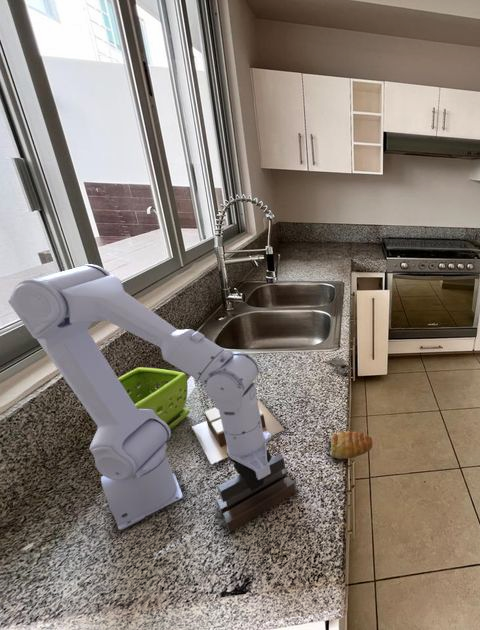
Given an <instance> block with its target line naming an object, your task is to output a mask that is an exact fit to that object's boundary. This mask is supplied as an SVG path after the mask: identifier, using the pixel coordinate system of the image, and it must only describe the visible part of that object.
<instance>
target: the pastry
mask: <svg viewBox="0 0 480 630" xmlns="http://www.w3.org/2000/svg"><path fill="white" fill-rule="evenodd" d="M330 442H331V443H330V451H329V455H330V456H331V457H332V458H335V459H337V460H342V459H346V460H347V459H352V458H356V457H358V456H362V455H365V454H367V453H369V451H370V450H372V448H373V438H372V436H370V435H368V434H366V433H364V432H358V431H356V430H355V431H351V430H347V431H344V430H340V431H339V432H337V433H332V434H331V438H330Z"/></svg>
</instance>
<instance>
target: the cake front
mask: <svg viewBox="0 0 480 630" xmlns="http://www.w3.org/2000/svg"><path fill="white" fill-rule="evenodd" d="M259 412H260V417H261V423H262V428H264V427H266V425H265V420H264V414H263V412H262V411H261V410H260V409H259ZM211 425H212V429H213V433H214V437H215V438H216V440H217V442H218V443H219V445H220V447H222V446H224V445H227V443H226V439H225V434H224V430H223V425H222V421H221V419H219V420H217V421H214V422H212V423H211Z"/></svg>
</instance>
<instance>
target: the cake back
mask: <svg viewBox="0 0 480 630" xmlns="http://www.w3.org/2000/svg"><path fill="white" fill-rule="evenodd" d="M203 413H204V416H205V421H207V424H208V426H209V428H210V430H211V432H212V433H213V429H212V425H211V423H212V422H214V421H217V420H219V419H221V417H220V413H219V410H218V409H216V406H215V407H213V408H209V409H208V410H205V411H203ZM213 435H214V433H213Z"/></svg>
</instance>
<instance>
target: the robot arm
mask: <svg viewBox="0 0 480 630" xmlns="http://www.w3.org/2000/svg"><path fill="white" fill-rule="evenodd" d="M123 285H124V284H123V282H122V280H121V278H119V277H117V276H115V275H112V274H111V273H110V272H109V271H108V270H107V269H105V268H104V267H102V266H99V265H97V264H91V263H87V264H82V265H79V266H78V267H74V268H71V269H66V270H64V271H59V272H56V273H51V274H48V275H44V276H39V277H37V278H30V279H28V278H27V279H23V280H21V281H19V282H18V283H17V284H15V286H14V288H13V290H12V292H11V294H10V297H9V299H8V302H7V303H8V304H9V305H10V307H11V309H13V311H14V312H15V313H16V315H17V316H18V318H19V320H20V321H21V322H22V323H23V325H24V327H25V328H26V329H27V331H28V333H30V335H31V337H32V338H33V339H36V341H37V342H38V344H39V345H40V346H41V347H42V349H43V350H44V352H45V353H46V355H47V356H48V357H49V359H50V360H51V362H52V363H53V365H54V366H55V367H56V368H57V370H58V372H59V373H60V374H61V376H62V377H63V379H64V380H65V382H66V384H68V386H69V387H70V389H71V390H72V392H73V393H74V394H75V396H76V397H77V399H78V401H79V402H80V404H81V405H82V406H83V408H84V409H85V410H86V412H87V413H88V415H89V416H90V418H91V419H92V420H93V422H94V423H95V424H96V426H97V429H96V431H95V434H94V436H93V438H92V440H91V442H90V445H89V447H88V449H89V451H90V453H91V454H92V456H93V458H94V464H95V467H96V469H97V471H98V472H99V474H101V475H102V476H100V482H101V486H102V491H103V493H104V497H105V500H106V502H107V504H108V508H109V511H110V513H111V514H112V517H114V520H115V522H116V524H117V529H118V530H119V531H123V530H125V529H127V528H129V527H131V526H132V525H134V524H136V523H138V522H140V521H142V520H144V519H145V518H146V517H147V516H149V515H151V514H153V513H155V512H157V511H160V510H161V509H163V508H165V507H167V506H169V505H171V504H173V503H175V502H177V501H179V500H180V499H182V498H183V496H184V495H183V492H182V490H181V486H180V484H179V482H178V479H177V476H176V474H175V473H174V472H173V470H172V468H171V464H170V462H169V459H168V456H167V453H166V450H167V449H168V444H167V442H168V441H169V440H170V438H171V436H172V432H171V430H170V428H169V426H168V425H167V424H166V423H165V422H164V421H163V420H161V419H160V418H159V417H158V416H157V415H156V414H155V412H154V410H151V409H137V408H136V406H135V405H134V403H133V401H132V400H131V398H130V397H129V395H128V394H129V393H128V391H127V392H126V390H125V389H124V387H123V386H122V384H121V382H120V381H119V379H118V378H119V377H118V376H117V374H116V373H115V372H114V370H113V368H112V366H111V365H110V364H109V363H110V362H108V361H107V359H106V357H105V355H104V354H103V353H102V351H101V349H100V348H99V346H98V344H97V343H96V342H95V341H96V340H94V338H93V337H92V334H90V332H89V327H90V325H91V324H92V323H94V322H96V323H97V322H103V321H104V322H109V323H111V324H112V325H114V326H116V327H118V328H120V329H122V330H124V331H126V332H128V333H130V334H132V335H134V336H136V337H138V338H140V339H142V340H144V341H146V342H148V343H150V344H152V345H154V346H156V347H158V348H159V349H160V351H161V356H162V359H163V360H164V361H165V362H167V363H168V364H170V365H171V366H173V367H176V368H177V369H178V370H181V372H183V373H185V374H186V375H189V376H191V377H192V378H194V379H195V380H197V381H198V382H201V383H202V384H204V386H203V387H202V388H203V391H204V393H205V394H206V396H207V397H208V398H209V399H211V400H212V401H213V402H214V405H215V407H216V409H218V410H219V413H220V417H221V421H222V425H223V430H224V434H225V439H226V443H227V456H228V457H227V458H228V460H230V461H231V462H232V463H233V468H234V469H235V471H236V473H237V474H238V475H241V476H243V477H244V478H245V480H246V482H247V484H248V486H249V487H250V489H251V490H252V491H253V490H255V489H257V488H258V487H260V486H262V485H263V483H264V477H265V476H267V475H269V474H271V472H270V466H269V461H270V460H271V458H272V454H271V453H270V451H269V450H268V449H267V442H269V441H271V440H272V436H271V434H270V433H269V432H268V431H265V432H263V428H262V423H261V417H260V412H259V406H258V401H257V400H258V397H257V391H256V387H255V385H256V384H255V383H254V381H255V380H256V379H257V377H258V376H259V374H260V373H259V372H260V367H259V365H258V363H257V361H256V360H255V359H254V358H253V357H252V356H251V355H250V354H249V353H246V352H243V351H232V350H231V349H225V348H223V347H221V346H220V345H218V344H216V343H215V342H213V341H212V340H210V339H208V338H207V337H205V335H204V334H203V333H201V332H200V331H196V330H194V329H192V328H188V329H178V328H176V327H175V326H174V325H172V324H171V323H169V322H168V321H167V320H165V319H163V318H162V317H161V316H159V315H158V314H157V313H155V312H154V311H152V309H149V308H148V307H147V306H146V305H144V304H143V303H142V302H140V301H138V300H137V299H136V298H134V297H133V296H132V295H130V294H129V293H128V292H126V291H125V289H124V286H123Z"/></svg>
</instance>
